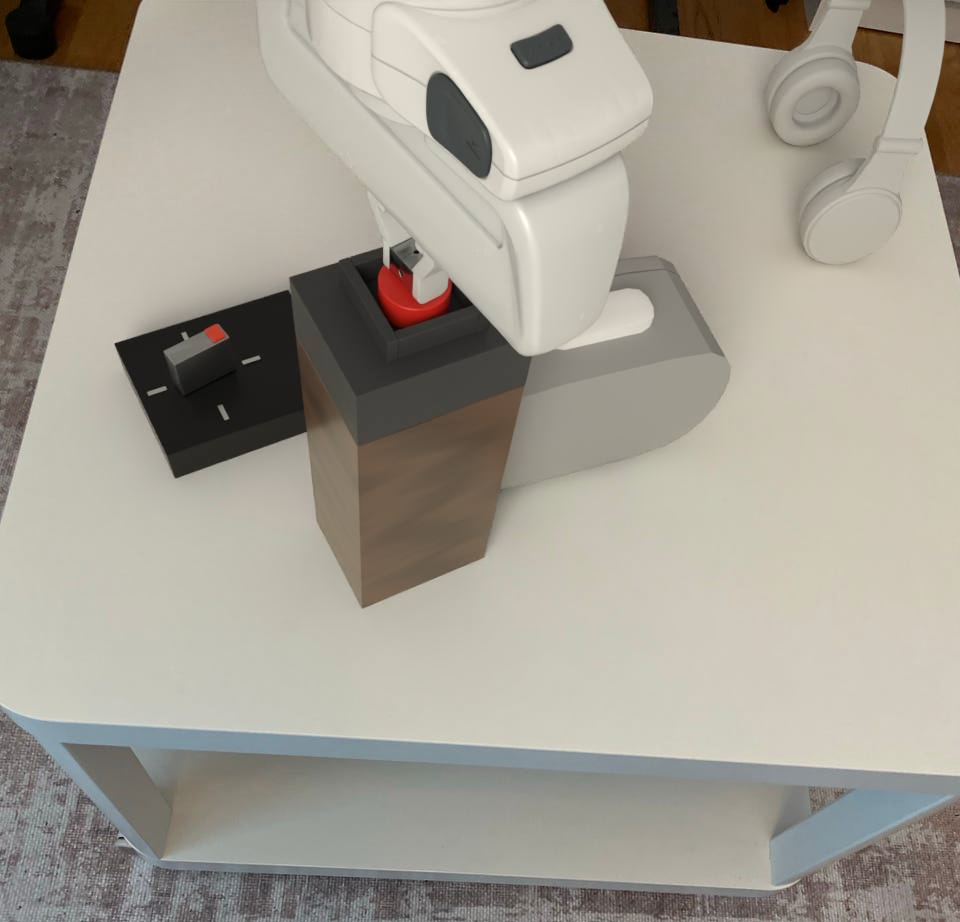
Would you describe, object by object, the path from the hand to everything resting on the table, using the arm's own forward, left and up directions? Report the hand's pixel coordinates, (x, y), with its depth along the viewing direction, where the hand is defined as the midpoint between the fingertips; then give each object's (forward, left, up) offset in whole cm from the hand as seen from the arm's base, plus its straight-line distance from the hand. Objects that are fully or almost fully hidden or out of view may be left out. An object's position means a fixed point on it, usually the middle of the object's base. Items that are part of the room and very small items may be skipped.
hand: (415, 280), depth 44 cm
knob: (-8, +17, -23) cm, 29 cm away
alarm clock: (+16, +4, -26) cm, 31 cm away
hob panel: (-6, +17, -26) cm, 31 cm away
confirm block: (0, 0, -6) cm, 6 cm away
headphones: (+52, +18, -26) cm, 61 cm away
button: (0, 0, -2) cm, 2 cm away
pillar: (0, 0, -26) cm, 26 cm away
